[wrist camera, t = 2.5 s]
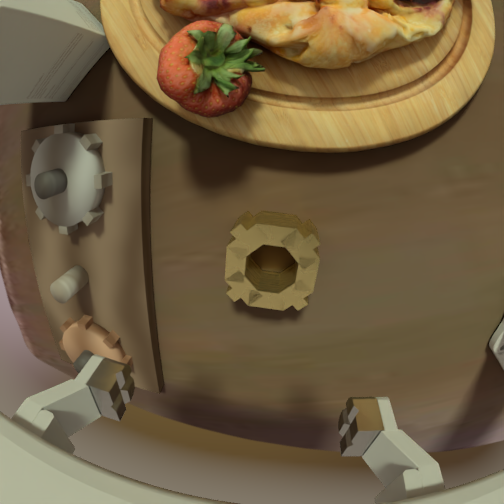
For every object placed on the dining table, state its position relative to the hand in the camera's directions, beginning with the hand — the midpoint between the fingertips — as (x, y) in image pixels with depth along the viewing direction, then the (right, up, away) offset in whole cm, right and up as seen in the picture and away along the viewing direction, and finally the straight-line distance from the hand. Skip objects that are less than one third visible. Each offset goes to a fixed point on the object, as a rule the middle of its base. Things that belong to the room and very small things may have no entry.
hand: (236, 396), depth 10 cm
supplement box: (-15, +23, +8) cm, 28 cm away
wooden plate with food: (+5, +27, +4) cm, 28 cm away
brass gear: (+2, +5, +13) cm, 14 cm away
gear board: (-15, +4, +16) cm, 22 cm away
